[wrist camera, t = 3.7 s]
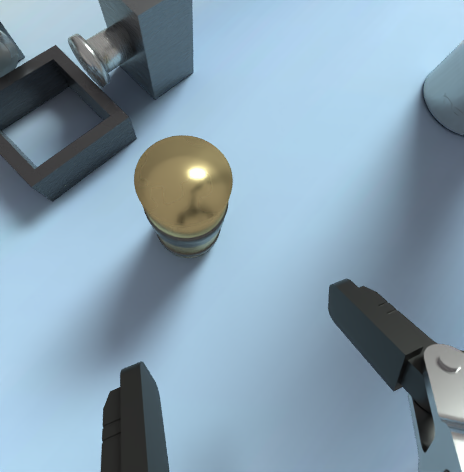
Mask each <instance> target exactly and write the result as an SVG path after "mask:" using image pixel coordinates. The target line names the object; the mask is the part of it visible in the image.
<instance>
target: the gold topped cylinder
mask: <svg viewBox="0 0 464 472" xmlns="http://www.w3.org/2000/svg"><path fill="white" fill-rule="evenodd" d="M232 182H233V179H232V172H231V168H230V166H229V163H228V161H227V160H226V158H225V157H224V155H223V154H222V153H221V152H220V151H219V149H217V148H216V147H215V146H214V145H212V144H211V143H209V142H207V141H205V140H203V139H200V138H197V137H193V136H172V137H168V138H165V139H162V140H160V141H158V142H156V143H155V144H153V145H152V146H150V147H149V148H148V149H147V150H146V151H145V152H144V153H143V155H142V156H141V158H140V159H139V161H138V163H137V166H136V169H135V175H134V184H135V190H136V193H137V195H138V198H139V200H140V202H141V204H142V205H143V208H144V211H145V214H146V216H147V218H148V220H149V222H150V224H151V225H152V227H153V229H154V230H155V232H156V233H157V236H158V238H159V240H160V241H161V243H162V244H163V246H164V247H165V248H166V249H167V250H169V251H170V252H171V253H173V254H175V255H177V256H180V257H184V258H193V257H197V256H200V255H202V254H204V253H206V252H207V251H208V250H210V248H211V247H212V246H213V245H214V244H215V242H216V241H217V239H218V236H219V233H220V229H221V226H222V224H223V221H224V218H225V215H226V212H227V208H228V200H229V197H230V194H231V190H232Z"/></svg>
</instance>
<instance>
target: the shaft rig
mask: <svg viewBox="0 0 464 472" xmlns="http://www.w3.org/2000/svg"><path fill="white" fill-rule="evenodd" d="M99 3H100V6H101V10H102V13H103V16H104V19H105V22H106V25H107V28H106V29H104V30H102V31H101V32H99V33H97V34H96V35H94V36H92V37H91V38H89V39H87V40H85V39H84V38H83V37H81V36H80V35H79V34H75V35H73V36H71V37H69V38H68V42H69V45H70V47H71V49H72V51H73V53H74V55H75V57H76V58H77V60H78V61H79V63H80V64H81V66H82V67H83V68H84V70H85V71H86V72H87V74H88V75H89V76H90V77H91V78H92V79H93V80H94V81H95V82H96V83H97V84H98V85H99V86H101V87H104V86H106V85H107V84H109V83H110V77H109V75H108V73H109V72H111V71H112V70H114V69H115V68H117V67H118V66H121V67H122V68H123V69H124V70H125V71H126V72H127V73H128V74H129V75H130V76H131V77H132V78H133V79H134V80H135V81H136V82H137V83H138V84H140V85H141V86H142V87H143V88H144V89H145V90H146V91H147V92H148V93H149V94H150V95H151V96H152V97H153V98H154V99H157V98H158V97H160V96H161V95H162V94H164V93H165V92H166V91H168V90H169V89H171V88H172V87H173V86H175V85H176V84H178V83H179V82H180V81H182V80H183V79H185V78H186V77H187V76H189V75H190V74H191V73H193V19H192V0H99ZM24 57H25V56H24V55H23V53H22V52H21V50H20V49H19V48H18V46H17V45H16V43H15V42H14V40H13V39H12V38H11V36H10V35H9V33H8V32H7V31H6V29H5V28H4V26H3V25H2V23H1V22H0V154H1V155H2V157H3V158H4V159H5V160H6V161H7V162H8V163H9V164H10V165H11V166H12V167H13V168H14V169H15V170H16V171H17V172H18V173H19V174H20V176H21V177H22V178H23V179H24V180H25V181H26V182H27V183H28V184H29V185H30V186H31V187H32V188H33V189H35V190H36V191H38V192H39V193H41V194H42V195H44V196H45V197H46V198H48V199H49V200H51V201H52V202H53V201H54V200H55V199H57V198H58V197H59V196H61V195H62V194H63V193H65V192H66V191H67V190H69V189H70V188H71V187H73V186H74V185H75V184H77V183H78V182H79V181H81V180H82V179H83V178H85V177H86V176H87V175H88V174H90V173H91V172H92V171H94V170H95V169H96V168H98V167H99V166H100V165H102V164H103V163H104V162H106V161H107V160H108V159H110V158H111V157H112V156H114V155H115V154H116V153H118V152H119V151H120V150H122V149H123V148H124V147H126V146H127V145H128V144H130V143H131V142H132V141H134V140H135V139H136V135H135V132H134V129H133V127H132V124H131V121H130V119H129V117H128V116H127V115H126V114H125V113H124V112H123V111H122V110H121V109H120V108H119V107H118V106H117V105H116V104H115V103H114V102H113V101H112V100H111V99H110V98H109V97H108V96H107V95H106V94H105V93H104V92H103V91H102V90H101V89H100V88H99V87H98V86H97V85H96V84H95V83H94V82H93V81H92V80H91V79H90V78H89V77H88V76H87V75H86V74H85V73H84V72H83V71H82V70H81V69H80V68H79V67H78V66H77V65H75V64H74V63H73V62H72V61H71V60H70V59H69V58H68V57H67V56H66V55H65V54H64V53H63V52H62V51H61V50H60V49H59V48H58V47H57V46H56V45H55V46H53V47H52V48H50V49H48V50H46V51H45V52H43V53H41V54H40V55H38V56H36V57H35V58H33V59H31V60H29V61H28V62H26V63H24V64H23V65H21V66H19V67H18V68H16V66H17V64H18V61H19V60H21V59H23V58H24ZM15 68H16V69H15ZM68 87H71V88H72V89H73V90H74V91H75V92H76V93H77V94H78V95H79V96H80V97H81V98H82V99H83V100H84V101H85V102H86V103H87V104H88V105H89V106H90V107H91V108H92V109H93V110H94V111H95V112H96V113H97V114H98V115H99V116H100V117H101V118H102V119H103V120H104V121H103V122H101V123H100V124H98V125H97V126H95V127H94V128H93V129H91V130H90V131H88V132H87V133H85V134H84V135H83V136H81V137H80V138H78V139H77V140H76V141H74V142H73V143H71V144H70V145H68V146H67V147H66V148H64V149H63V150H61V151H60V152H58V153H57V154H56V155H54V156H53V157H51V158H50V159H48V160H47V161H46V162H44V163H43V164H41V165H40V166H39V167H36V166H35V165H34V164H33V163H32V162H31V161H30V159H29V158H28V157H27V156H26V155H25V154H24V153H23V152H22V151H21V150H20V149H19V148H18V147H17V146H16V145H15V144H14V143H13V142H12V141H11V140H10V139H9V138H8V136H7V135H6V134H5V133H4V132H3V131H2V130H3V129H4V128H6V127H7V126H9V125H10V124H12V123H13V122H15V121H17V120H18V119H20V118H21V117H23V116H24V115H26V114H28V113H29V112H31V111H32V110H34V109H35V108H37V107H38V106H40V105H42V104H43V103H45V102H46V101H48V100H49V99H51V98H52V97H54V96H56V95H57V94H59V93H60V92H62V91H63V90H65V89H67V88H68Z"/></svg>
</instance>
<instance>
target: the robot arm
mask: <svg viewBox="0 0 464 472" xmlns="http://www.w3.org/2000/svg"><path fill="white" fill-rule="evenodd" d="M424 98H425V102H426V104H427V106H428V108H429V110H430V112H431V113H432V114H433V116H434V117H435V118H436V119H437V120H438V121H439V122H440V123H441V124H442V125H443V126H445V127H446V128H447V129H449V130H451V131H453V132H455V133H457V134H460V135H464V40H463V41H462V42H461V43H460V44H459V45H458V46H457V47H456V48H455V49H454V50H453V51H452V52H451V53H450V54H449V55H448V56H447V57H446V58H445V59H444V60H443V61H442V62H441V63H440V64H439V65H438V66H437V67H436V68H435V69H434V70H433V71H432V72H431V73H430V74H429V75H428V76H427V78H426V80H425V83H424ZM328 310H329V314H330V316H331V318H332V320H333V321H334V323H335V324H336V325H337V326H338V327H339V328H340V330H341V331H342V332H343V333H344V334H345V335H346V337H347V338H348V339H349V340H350V341H351V342H352V344H353V345H354V346H355V347H356V348H357V349H358V351H359V352H360V353H361V354H362V355H363V356H364V358H365V359H366V360H367V361H368V362H369V363H370V365H371V366H372V367H373V368H374V369H375V370H376V372H377V373H378V374H379V375H380V376H381V377H382V379H383V380H384V381H385V382H386V383H387V385H388V386H389V387H390V388H391V389H392V390H393V392H394V391H396V390H398V389H399V388H401V387H403V388H404V389H405V390H406V391H407V392H408V400H409V405H410V411H411V416H412V421H413V427H414V432H415V438H416V443H417V449H418V457H419V462H418V472H464V351H460V350H458V349H456V348H454V347H451V346H448V345H444V344H438V343H436V342H434V341H433V340H432V339H430V338H429V337H428V336H427V335H426V334H425V333H423V332H422V331H421V330H420V329H419V328H418V327H416V326H415V325H414V324H413V323H412V322H411V321H410V320H408V319H407V318H406V317H405V316H404V315H403V314H401V313H400V312H399V311H397V310H396V308H394V307H393V306H392V305H391V304H390V303H387V301H386V300H385V299H384V298H383V297H382V296H380V295H379V294H378V293H377V292H375V291H373V290H371V289H369V288H367V287H365V286H362V287H357V286H356V285H355V284H354V283H353V282H352V281H351V280H349V279H344V280H342V281H339V282H337V283H334V284H332V285H330V287H329V303H328ZM102 441H103V444H102V455H101V472H169V464H168V456H167V449H166V441H165V433H164V425H163V417H162V410H161V402H160V395H159V391H158V387H157V385H156V382H155V380H154V379H153V377H152V376H151V374H150V372H149V371H148V369H147V367H146V366H145V364H144V363H143V362H142V361H141V362H139V363H136V364H134V365H131V366H129V367H127V368H124V369H122V370H121V373H120V387H119V388H117V389H115V390H112V391H110V393H109V395H108V398H107V401H106V403H105V406H104V408H103V431H102Z"/></svg>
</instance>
